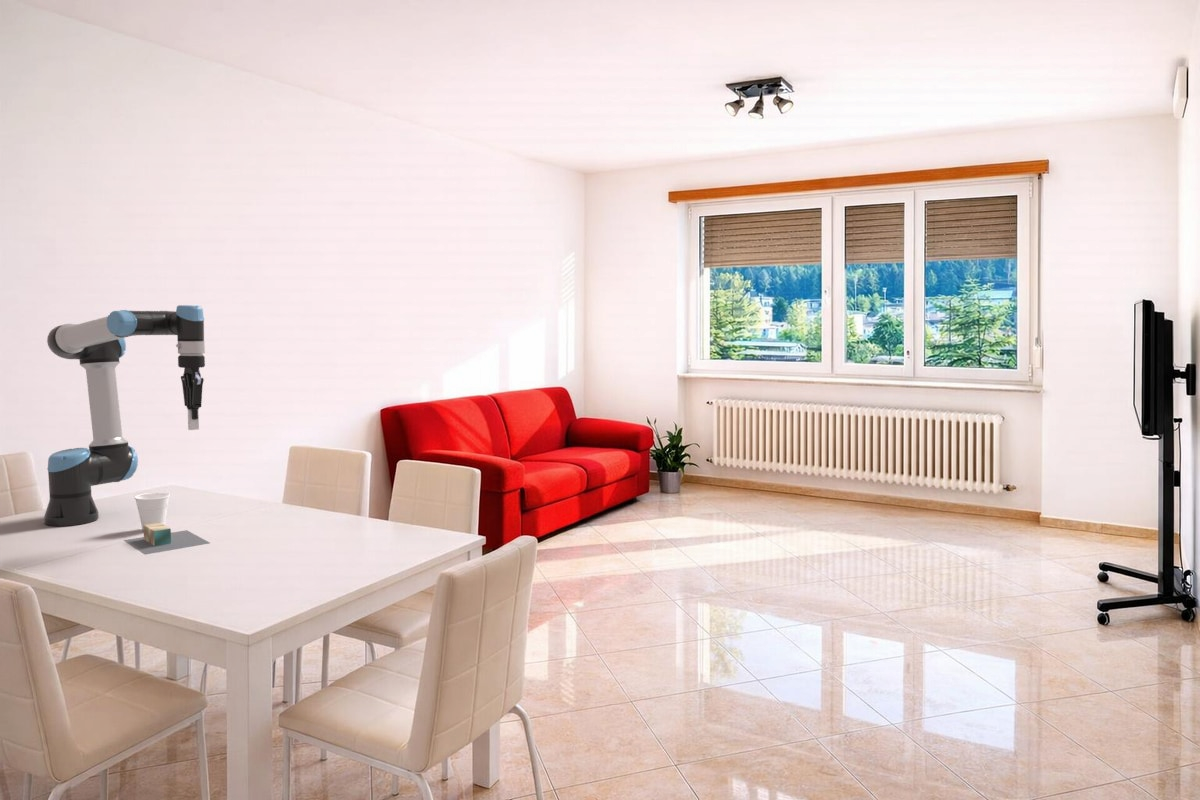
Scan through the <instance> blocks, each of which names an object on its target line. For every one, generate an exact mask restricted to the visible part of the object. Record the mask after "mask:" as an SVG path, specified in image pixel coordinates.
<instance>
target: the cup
mask: <svg viewBox="0 0 1200 800" xmlns="http://www.w3.org/2000/svg"><path fill="white" fill-rule="evenodd" d="M170 495H171V494H170V493H167V492H149V493H148V492H147V493H142V494H138V495H135V496H134V499H135V502H136V507H137V511H138V515H139V519H140V524H141V528H142V531H144V528H143V525H145V524H152V523H158V522H160V523H161V524H163V525H165V526H166V518H167V511H168V505H169V499H170V498H169V497H170Z"/></svg>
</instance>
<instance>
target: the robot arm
mask: <svg viewBox="0 0 1200 800" xmlns="http://www.w3.org/2000/svg"><path fill="white" fill-rule="evenodd" d="M204 321H205V318H204V308H203V307H202V306H201V305H189V304H188V305H187V304H185V305H184V304H183V305H181V304H179V305H177V306H176V310H175V311H173V310H171V311H170V310H127V309H122V310H121V309H120V310H113V311H111V312H110V313H109V314H108V316H105V317H100V318H96V319H92V320H89V321H85V322H82V323H78V324H75V323H74V324H73V323H64V324H61V325H58V326H55V327H54V328H52V329H51V330H50V331H49V332H48V335H47V338H46V343H47V347H48V348H49V350H50V351H51V352H52V353H53V354H54V355H56V356H58V357H59V358H62V359H66V360H79V366H81V368H83V369H84V370H85V374H86V383H87V384H86V385H87V393H88V394H87V395H88V402H89V403H88V404H89V412H90V422H91V430H92V441H91V442H90V444H88V448H87V447H75V448H68V449H63V450H59V451H55V452H54V453H52V454H51V455H50V456H49V457H48V459H47V473H48V474H47V475H48V489H49V490H48V491H49V492H48V493H49V501H48V504H47V507H46V510H45V512H44V517H43V520H44V522H43V523H44V525H47V526H53V527H68V526H76V525H77V526H78V525H83V524H87V523H92V522H95V521H97V520H99V511H98V508H97V505H96V503H95V501H94V499H93V496H92V487H93V486H99V485H104V484H105V485H106V484H110V483H119V482H122V481H127V480H129V479H130V478H132V477H133V476H134V474H135V473H136V471H137V469H138V464H139V463H138V462H139V458H138V453H137V452H136V450H135V449H134V448H135V447H134V448H133V447H132V446H130V445H129V441H128V440H127V439H125V438H124V437H123V430H122V420H121V411H120V404H119V401H120V400H119V393H118V385H117V384H118V383H117V373H116V367H117V366H118V365H119V364H120V358H122V357H123V356H124V355H125V353H126V350H127V349H126V348H127V345H126V344H127V343H126V339H125V338H129V337H132V336H135V337H136V336H176V337H177V343H176V344H175V346H176V348H177V354H179V355H178V356H177V367H178V368H180V369H181V368H182V369H183V368H184V370H183V373H182V374H183V375H181V376H180V379H181V384H182V393H183V402H184V406H185V407H186V409H187V429H188V430H189V431H195V430H200V421H199V416H200V415H199V409H200V408H202V403H203V401H202V400H203V386H204V385H203V384H204V380H205V379H204V377H202V375H201V372H200V368H204V367H205V366H206V361H205V359H206V357H205V356H204V354H205V353H206V350H205V349H206V348H205V347H206V346H205V325H204V324H205V322H204Z"/></svg>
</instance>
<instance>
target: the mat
mask: <svg viewBox="0 0 1200 800" xmlns="http://www.w3.org/2000/svg"><path fill="white" fill-rule="evenodd" d="M123 541H124V542H125V543H127V544H129V545H130V546H132V547H133V548H135V549H136V550H138V551H139V552H140V553H142V554H144V555H151V554H156V553H157V554H158V553H162V552H163V553H164V552H168V551H173V550H178V549H185V548H190V547H196V546H202V545H208V544H209V545H210V544H211V542H209V541H208V540H206V539H204V538H202V537H200V536H199V535H197V534H195V533H193V532H192V531H189V530H188V529H185V530H179V531H173V532H172V531H171V543H170V544H164V545H158V546H154V545H152V544H151V543H149V542H147V541H146V540H144V536H142V537H136V538H129V539H124V540H123Z"/></svg>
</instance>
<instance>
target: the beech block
mask: <svg viewBox="0 0 1200 800" xmlns="http://www.w3.org/2000/svg"><path fill="white" fill-rule="evenodd" d="M143 528H144V530H143V537H144V540H146V541H147V542H149V543H151V544H152V545H154V546H158V545H164V544H170V543H171V533H172V529H171V527H168V526H167V525H166V524H165V525H163V524H161V523H160V522H158V523H152V524H145V525H143Z"/></svg>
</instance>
